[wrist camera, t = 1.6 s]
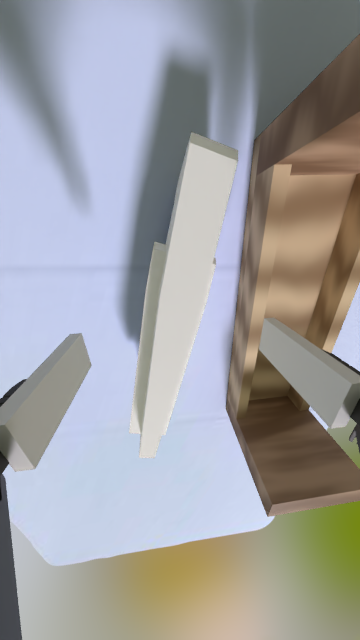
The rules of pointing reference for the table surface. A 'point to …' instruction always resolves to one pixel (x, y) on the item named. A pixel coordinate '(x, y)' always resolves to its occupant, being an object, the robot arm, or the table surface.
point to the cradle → (298, 286)
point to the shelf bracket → (179, 286)
